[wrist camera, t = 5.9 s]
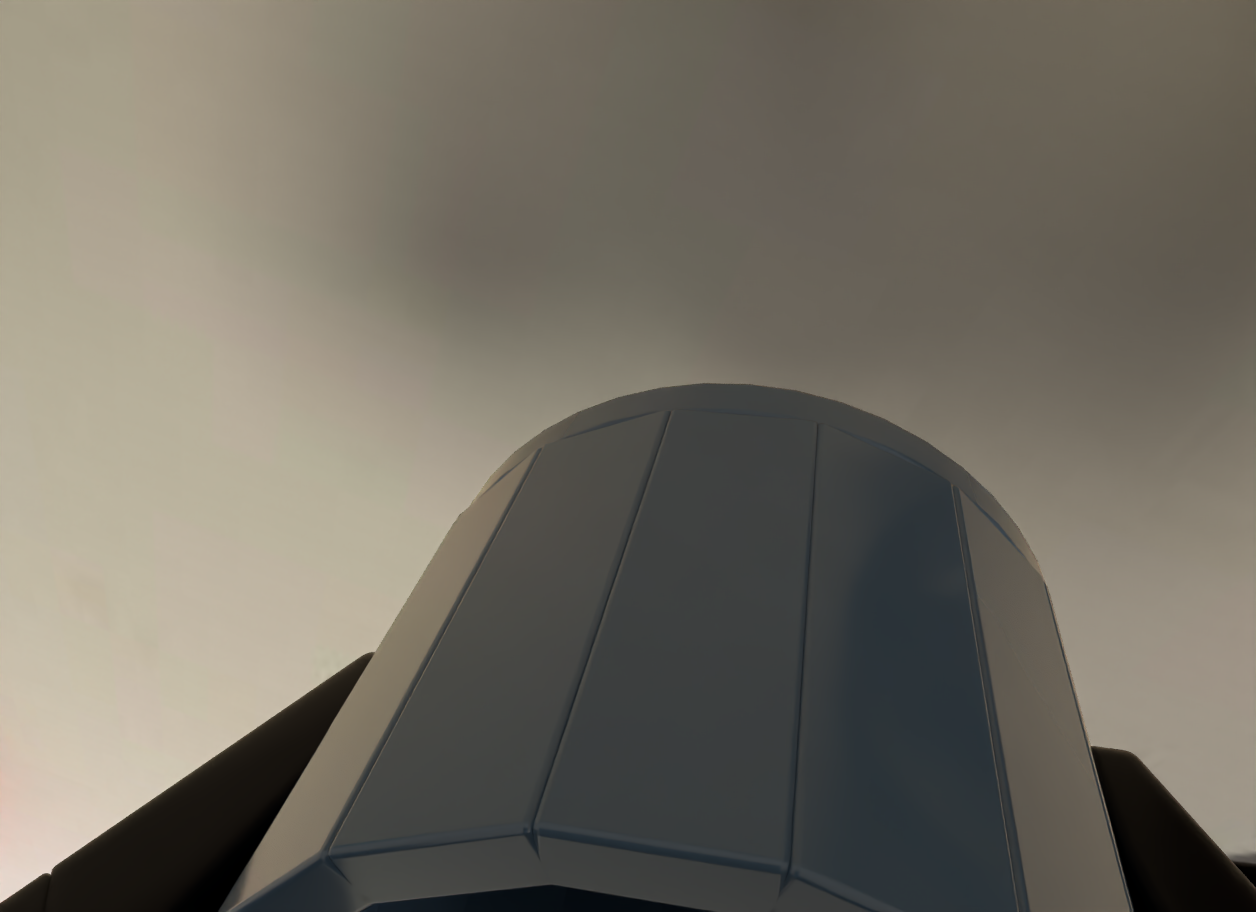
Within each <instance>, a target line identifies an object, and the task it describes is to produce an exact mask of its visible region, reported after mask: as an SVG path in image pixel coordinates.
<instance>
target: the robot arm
mask: <svg viewBox="0 0 1256 912" xmlns="http://www.w3.org/2000/svg"><path fill="white" fill-rule="evenodd" d="M374 654H375V652H370V653H367V654H365V655H363V656H361V657H360V658H358V659H357V660H355V661H354V662H352V663H351V664H349V665H348V666H346V667H345V668H344V669H342V670H341V671H339V672H338V673H336V674H335V675H333V676H332V677H330V678H329V679H328V680H326V681H325V682H323V683H322V684H320V685H319V686H317V687H316V688H314V689H313V690H311V691H310V692H309V693H307V694H306V695H304V696H303V697H301V698H300V699H298V700H297V701H295V702H294V703H292V704H291V705H290V706H288V707H287V708H285V709H284V710H282V711H281V712H279V713H278V714H276V715H275V716H274V717H272V718H271V719H269V720H268V721H266V722H265V723H263V724H262V725H260V726H259V727H257V728H256V729H255V730H253V731H252V732H250V733H249V734H247V735H246V736H244V737H243V738H241V739H240V740H238V741H237V742H236V743H234V744H233V745H231V746H230V747H228V748H227V749H225V750H224V751H222V752H221V753H220V754H218V755H217V756H215V757H214V758H212V759H211V760H209V761H208V762H206V763H205V764H203V765H202V766H201V767H199V768H198V769H196V770H195V771H193V772H192V773H190V774H189V775H187V776H186V777H184V778H183V779H182V780H180V781H179V782H177V783H176V784H174V785H173V786H171V787H170V788H168V789H167V790H166V791H164V792H163V793H161V794H160V795H158V796H157V797H155V798H154V799H152V800H151V801H149V802H148V803H147V804H145V805H144V806H142V807H141V808H139V809H138V810H136V811H135V812H133V813H132V814H130V815H129V816H128V817H126V818H125V819H123V820H122V821H120V822H119V823H117V824H116V825H114V826H113V827H111V828H110V829H109V830H107V831H106V832H104V833H103V834H101V835H100V836H98V837H97V838H95V839H94V840H93V841H91V842H90V843H88V844H87V845H85V846H84V847H82V848H81V849H79V850H78V851H76V852H75V853H74V854H72V855H71V856H69V857H68V858H66V859H65V860H63V861H62V862H60V863H59V864H57V865H56V866H55V867H54V868H53V869H52V872H51V875H50V874H48V873H45V874H42V875H41V876H39V877H38V878H37V879H35V880H34V881H32V882H31V883H29V884H28V885H26V886H25V887H23V888H22V889H21V890H19V891H18V892H16V893H15V894H13V895H12V896H10V897H9V898H7V899H6V900H4V901H3V902H1V903H0V912H218V911H219V909H220V908H221V906H222V904H223V903H224V901H225V899H226V898H227V896H228V894H229V893H230V891H231V889H232V888H233V886H234V884H235V883H236V881H237V879H238V878H239V876H240V875H241V873H242V871H243V870H244V868H245V866H246V865H247V863H248V861H249V860H250V858H251V856H252V855H253V853H254V851H255V850H256V848H257V847H258V845H259V843H260V842H261V840H262V838H263V837H264V835H265V833H266V832H267V830H268V828H269V827H270V825H271V823H272V822H273V820H274V818H275V817H276V815H277V814H278V812H279V810H280V809H281V807H282V805H283V804H284V802H285V800H286V799H287V797H288V795H289V794H290V792H291V790H292V789H293V787H294V786H295V784H296V782H297V781H298V779H299V777H300V776H301V774H302V772H303V771H304V769H305V767H306V766H307V764H308V762H309V761H310V759H311V757H312V756H313V754H314V753H315V751H316V749H317V748H318V746H319V744H320V743H321V741H322V739H323V738H324V736H325V734H326V733H327V731H328V729H329V728H330V726H331V725H332V723H333V721H334V720H335V718H336V716H337V715H338V713H339V711H340V710H341V708H342V706H343V705H344V703H345V701H346V700H347V698H348V697H349V695H350V693H351V692H352V690H353V688H354V687H355V685H356V683H357V682H358V680H359V678H360V677H361V675H362V673H363V672H364V670H365V668H366V667H367V665H368V664H369V662H370V660H371V659H372V657H373V655H374ZM1091 749H1092V752H1093V756H1094V760H1095V764H1096V767H1097V771H1098V775H1099V779H1100V782H1101V786H1102V790H1103V794H1104V797H1105V801H1106V805H1107V809H1108V812H1109V816H1110V820H1111V823H1112V827H1113V831H1114V835H1115V838H1116V842H1117V846H1118V850H1119V853H1120V857H1121V861H1122V865H1123V868H1124V872H1125V876H1126V879H1127V883H1128V887H1129V891H1130V894H1131V898H1132V902H1133V906H1134V909H1135V912H1256V888H1255V887H1254V886H1253V884H1252V883H1251V882H1250V881H1249V880H1248V879H1247V878H1246V877H1245V876H1244V874H1243V873H1242V872H1241V871H1240V870H1239V869H1238V868H1237V867H1236V866H1235V865H1234V863H1233V862H1232V861H1231V860H1230V859H1229V858H1228V857H1227V856H1226V855H1225V853H1224V852H1223V851H1222V850H1221V849H1220V848H1219V847H1218V846H1217V845H1216V843H1215V842H1214V841H1213V840H1212V839H1211V838H1210V837H1209V836H1208V835H1207V833H1206V832H1205V831H1204V830H1203V829H1202V828H1201V827H1200V826H1199V825H1198V824H1197V822H1196V821H1195V820H1194V819H1193V818H1192V817H1191V816H1190V815H1189V814H1188V812H1187V811H1186V810H1185V809H1184V808H1183V807H1182V806H1181V805H1180V804H1179V802H1178V801H1177V800H1176V799H1175V798H1174V797H1173V796H1172V795H1171V794H1170V792H1169V791H1168V790H1167V789H1166V788H1165V787H1164V786H1163V785H1162V784H1161V782H1160V781H1159V780H1158V779H1157V778H1156V777H1155V776H1154V775H1153V774H1152V773H1151V771H1150V770H1149V769H1148V768H1147V767H1146V766H1145V765H1144V764H1143V763H1142V761H1141V760H1140V759H1139V758H1138V757H1137V756H1135V755H1134V754H1132V753H1131V752H1129V751H1125V750H1119V749H1111V748H1103V747H1096V746H1091Z"/></svg>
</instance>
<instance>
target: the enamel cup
mask: <svg viewBox="0 0 1256 912" xmlns="http://www.w3.org/2000/svg"><path fill="white" fill-rule="evenodd" d="M218 912H1135V909H1134V906H1133V902H1132V898H1131V894H1130V891H1129V887H1128V883H1127V879H1126V876H1125V872H1124V868H1123V865H1122V861H1121V857H1120V853H1119V850H1118V846H1117V842H1116V838H1115V835H1114V831H1113V827H1112V823H1111V820H1110V816H1109V812H1108V809H1107V805H1106V801H1105V797H1104V794H1103V790H1102V786H1101V782H1100V779H1099V775H1098V771H1097V767H1096V764H1095V760H1094V756H1093V752H1092V749H1091V745H1090V741H1089V738H1088V734H1087V730H1086V726H1085V723H1084V719H1083V715H1082V711H1081V708H1080V704H1079V700H1078V696H1077V693H1076V689H1075V685H1074V682H1073V678H1072V674H1071V671H1070V667H1069V663H1068V660H1067V656H1066V652H1065V649H1064V645H1063V641H1062V638H1061V634H1060V631H1059V627H1058V623H1057V619H1056V615H1055V611H1054V608H1053V604H1052V600H1051V597H1050V593H1049V590H1048V587H1047V585H1046V583H1045V580H1044V577H1043V574H1042V572H1041V569H1040V566H1039V564H1038V561H1037V559H1036V557H1035V556H1034V554H1033V552H1032V550H1031V549H1030V547H1029V545H1028V543H1027V542H1026V540H1025V538H1024V536H1023V535H1022V533H1021V531H1020V529H1019V528H1018V526H1017V525H1016V524H1015V523H1014V521H1013V520H1012V519H1011V518H1010V516H1009V515H1008V514H1007V513H1006V511H1005V510H1004V509H1003V508H1002V506H1001V505H1000V504H999V503H998V501H997V500H996V499H995V498H994V496H993V495H992V494H990V493H989V492H988V491H987V490H986V489H985V488H984V487H983V486H982V485H981V484H980V483H979V482H978V481H977V480H976V479H974V478H973V477H972V476H971V475H970V474H969V473H968V472H967V471H966V470H965V469H964V468H963V467H961V466H960V465H959V464H957V463H956V462H954V461H953V460H952V459H950V458H949V457H947V456H946V455H945V454H943V453H942V452H940V451H939V450H938V449H936V448H935V447H933V446H932V445H931V444H929V443H928V442H926V441H925V440H923V439H921V438H919V437H917V436H915V435H914V434H912V433H910V432H908V431H906V430H904V429H902V428H901V427H899V426H897V425H895V424H893V423H891V422H889V421H887V420H886V419H884V418H881V417H878V416H876V415H873V414H871V413H868V412H866V411H863V410H860V409H858V408H855V407H853V406H850V405H848V404H845V403H842V402H839V401H835V400H831V399H827V398H824V397H820V396H816V395H812V394H808V393H804V392H800V391H796V390H789V389H782V388H775V387H767V386H760V385H753V384H717V383H702V384H692V385H682V386H672V387H662V388H657V389H652V390H648V391H644V392H639V393H635V394H631V395H626V396H622V397H618V398H615V399H612V400H609V401H607V402H604V403H601V404H598V405H596V406H593V407H590V408H588V409H585V410H582V411H579V412H577V413H575V414H573V415H572V416H570V417H568V418H566V419H564V420H562V421H560V422H559V423H557V424H555V425H553V426H551V427H549V428H547V429H545V430H544V431H542V432H541V433H540V434H538V435H537V436H536V437H534V438H533V439H532V440H530V441H529V442H527V443H526V444H525V445H523V446H522V447H521V448H519V449H518V450H517V451H515V452H514V453H513V454H512V455H511V456H510V457H509V458H508V459H507V460H506V461H505V462H504V463H503V464H502V465H501V466H500V467H499V468H498V469H497V470H496V471H495V472H494V473H493V474H492V475H491V476H490V478H489V479H488V481H487V482H486V483H485V485H484V486H483V488H482V489H481V490H480V492H479V493H478V495H477V496H476V497H475V499H474V500H473V502H472V503H471V505H470V506H469V507H468V508H467V509H466V510H465V511H464V512H462V513H461V514H460V515H459V516H458V518H457V520H456V521H455V522H454V523H453V525H452V527H451V528H450V530H449V532H448V533H447V535H446V537H445V538H444V540H443V542H442V543H441V545H440V546H439V548H438V550H437V551H436V553H435V555H434V556H433V558H432V560H431V561H430V563H429V565H428V566H427V568H426V570H425V571H424V573H423V575H422V576H421V578H420V579H419V581H418V583H417V584H416V586H415V588H414V589H413V591H412V593H411V594H410V596H409V598H408V599H407V601H406V603H405V604H404V606H403V607H402V609H401V611H400V612H399V614H398V616H397V617H396V619H395V621H394V622H393V624H392V626H391V627H390V629H389V631H388V632H387V634H386V636H385V637H384V639H383V640H382V642H381V644H380V645H379V647H378V649H377V650H376V652H375V654H374V655H373V657H372V659H371V660H370V662H369V664H368V665H367V667H366V668H365V670H364V672H363V673H362V675H361V677H360V678H359V680H358V682H357V683H356V685H355V687H354V688H353V690H352V692H351V693H350V695H349V697H348V698H347V700H346V701H345V703H344V705H343V706H342V708H341V710H340V711H339V713H338V715H337V716H336V718H335V720H334V721H333V723H332V725H331V726H330V728H329V729H328V731H327V733H326V734H325V736H324V738H323V739H322V741H321V743H320V744H319V746H318V748H317V749H316V751H315V753H314V754H313V756H312V757H311V759H310V761H309V762H308V764H307V766H306V767H305V769H304V771H303V772H302V774H301V776H300V777H299V779H298V781H297V782H296V784H295V786H294V787H293V789H292V790H291V792H290V794H289V795H288V797H287V799H286V800H285V802H284V804H283V805H282V807H281V809H280V810H279V812H278V814H277V815H276V817H275V818H274V820H273V822H272V823H271V825H270V827H269V828H268V830H267V832H266V833H265V835H264V837H263V838H262V840H261V842H260V843H259V845H258V847H257V848H256V850H255V851H254V853H253V855H252V856H251V858H250V860H249V861H248V863H247V865H246V866H245V868H244V870H243V871H242V873H241V875H240V876H239V878H238V879H237V881H236V883H235V884H234V886H233V888H232V889H231V891H230V893H229V894H228V896H227V898H226V899H225V901H224V903H223V904H222V906H221V908H220V909H219V911H218Z"/></svg>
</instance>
